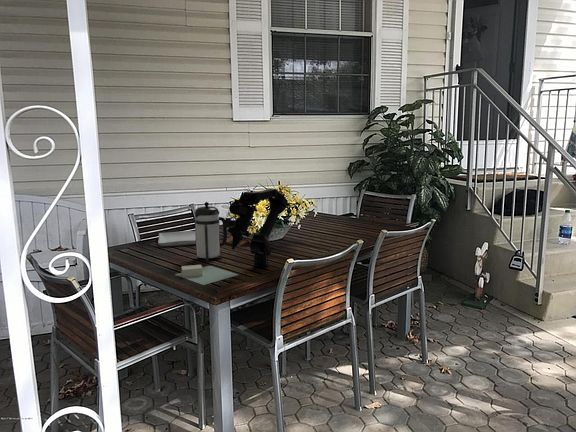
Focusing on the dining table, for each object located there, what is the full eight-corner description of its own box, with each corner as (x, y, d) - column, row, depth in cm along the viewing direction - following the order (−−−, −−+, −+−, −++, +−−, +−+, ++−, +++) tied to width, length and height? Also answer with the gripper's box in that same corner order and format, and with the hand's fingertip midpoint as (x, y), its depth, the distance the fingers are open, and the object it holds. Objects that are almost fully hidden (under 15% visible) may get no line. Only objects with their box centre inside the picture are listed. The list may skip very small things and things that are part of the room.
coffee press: (222, 262, 234) (220, 204, 229) (191, 262, 235) (188, 204, 229) (227, 253, 251) (226, 199, 246) (198, 253, 252) (196, 199, 246)
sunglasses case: (220, 242, 277) (224, 232, 278) (228, 246, 282) (232, 236, 283) (239, 247, 264) (243, 237, 266) (247, 251, 269) (251, 241, 271)
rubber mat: (209, 266, 227) (209, 265, 227) (239, 275, 212) (238, 274, 212) (174, 275, 213) (174, 274, 213) (203, 286, 198) (203, 285, 198)
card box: (201, 264, 216) (181, 266, 214) (202, 268, 211) (182, 269, 208) (201, 271, 217) (181, 273, 214) (202, 275, 211) (182, 277, 209)
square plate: (159, 238, 291) (158, 232, 290) (203, 235, 298) (202, 230, 297) (158, 248, 265) (157, 242, 265) (206, 245, 272) (206, 239, 271)
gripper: (235, 213, 225) (223, 242, 225) (223, 210, 206) (210, 242, 206) (255, 221, 223) (243, 251, 223) (246, 219, 204) (233, 252, 204)
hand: (232, 249), depth 214 cm, fingers closed
